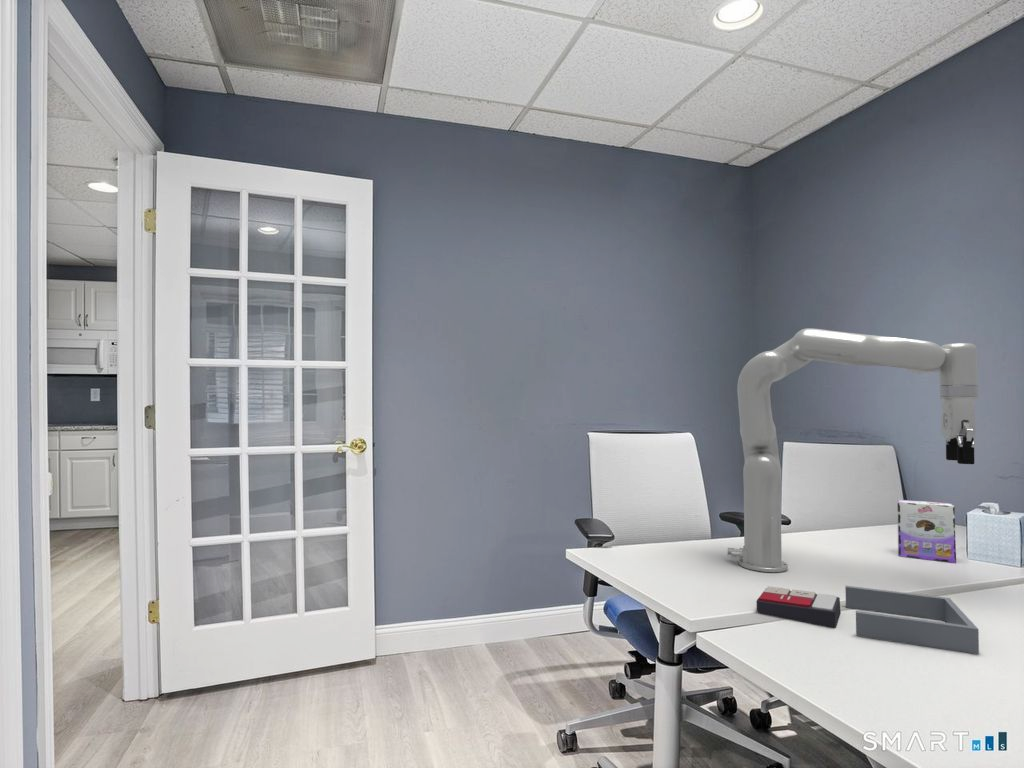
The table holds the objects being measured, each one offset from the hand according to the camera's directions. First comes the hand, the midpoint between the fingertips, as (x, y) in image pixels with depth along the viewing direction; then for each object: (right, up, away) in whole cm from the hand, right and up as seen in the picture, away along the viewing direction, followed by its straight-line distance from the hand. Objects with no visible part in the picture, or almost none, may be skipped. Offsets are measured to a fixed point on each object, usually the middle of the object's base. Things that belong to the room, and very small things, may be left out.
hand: (959, 462), depth 142 cm
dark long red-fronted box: (-49, -31, -17) cm, 60 cm away
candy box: (+12, -32, +28) cm, 44 cm away
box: (-31, -30, -25) cm, 50 cm away
